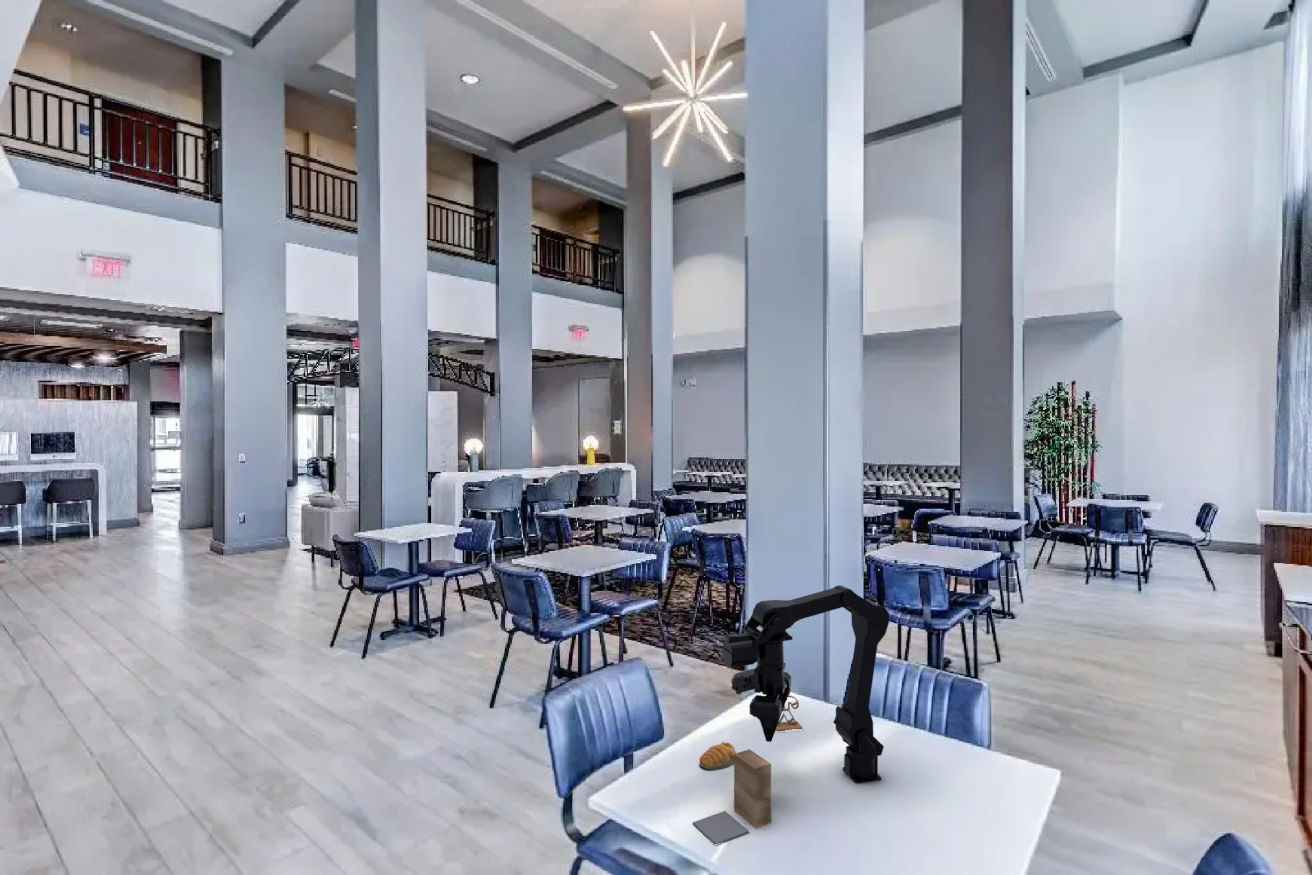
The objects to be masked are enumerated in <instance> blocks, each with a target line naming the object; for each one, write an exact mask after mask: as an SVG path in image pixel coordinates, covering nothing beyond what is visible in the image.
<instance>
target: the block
mask: <svg viewBox="0 0 1312 875" xmlns="http://www.w3.org/2000/svg"><path fill="white" fill-rule="evenodd" d="M733 793H734V794H733V796H734V797H733V798H734V799H733V806H734V807H733V811H734V813H736V814H737V815H738V816H739V817H740V818H742V819H743V820H744V821H745V822H747V823H748V824H749V825H750V826H752V827H753V828H754V829H756V830H757V829H758V828H761V827H764V826H766V825H768V824H771V823H772V763H771V762H769V761H768V760H766V759H765V758H764V757H763V756H760V755H759V754H757V753H756V752H754V751H753V750H751V749H750V748H749V749H746V750H743V751H742V750H741V751H739V752H736V753H735V754H734V764H733ZM763 825H764V826H763Z"/></svg>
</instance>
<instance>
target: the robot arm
mask: <svg viewBox="0 0 1312 875" xmlns="http://www.w3.org/2000/svg"><path fill="white" fill-rule="evenodd" d="M842 608H843V609H845V610H846V611H847V612H849V613H850V614H851V627H852V631H853V634H854V637H855V640H854V647H853V654H852V661H851V669H850V676H849V684H848V690H847V691H848V692H847V698H846V700H845V702H844V704H843V705H842V706H840V705H838V706H836V707H835V716H834V720H833V724H834V725H835V731H836V732H837V734H838V735H839V736H840V737H841V739H842V742H843V743H845V744H846V747H845V753H844V755H843V759H844V760H843V767H842V771H843V772H844V773H845V774H846V775H847V776H848V777H849V778H850V779H851V781H853V782H854V783H855V784H861V783H863V784H864V783H869V782H876V781H877V782H879V781H882V776H880V774H878V772H879V767H878V764H879V762H878V761H879V760H878V759H879V756H882V754H883V751H884V748H885V747H884V745H883V743H881V742H880V741H879V740H878V739H877V738H876V737H875V736H874V721H873V716H872V714H871V710H870V702H871V694H872V688H873V681H874V674H875V666H876V658H877V651H878V645H879V643H880V642H881V641H882V639H883V638H884V637H885V635H886V633H887V631H888V626H889V624H890V617H891V616H890V612H889V611H888V610H887V609H886V608H885V607H884V605H883V606H882V605H880V604H878V603H875V602H873V601H870V600H868V599H865V598H863V597H862V596H860V595H858V594H857V593H855V591H854V590H852V589H851V588H848V587H847V586H843V585H841V584H840V585H835V586H834V587H832V588H828V589H825V590H822V591H817V592H814V593H811V594H810V593H809V594H807V595H803V596H800V597H797V598H793V599H785V600H784V599H770V600H769V599H768V600H762V601H759V602H757V603H756V604H755V606H754V608H753V610H752V614H751V616H750V618H749V619H748V621H746V622H747V623H746V624H745V626H744V627H743V629H742V631H743V632H741V633H734V634H733V633H729V634H728V633H727V634H725V636H724V637H725V639H724V641H723V643H722V647H721V655H722V660H723V663H724V665H725V667H726V668H727V669H728V668H729V669H730V668H738V667H744V666H751V665H755V663H757V664H756V667H754V668H750V669H747V670H746V669H745V670H743V671H739V672H737V673H735V674H734V675H733V677H732V678H731V689H732V690H733V691H735V693H736V695H741V694H743V693H744V692H749V691H752V690H754V693H756V695H755V696H754V697H753V698H752V699H751V702H750V704H749V706H748V707H749V714H750V715H751V716H752V717H754V718H757V720H759V722H760V726H761V728H762V731H763V735H764V738H765V741H766V742H767V743H768V742H769V743H772V741H773V738H774V735H775V734H776V733H775V730H776V727H777V725H778V722H779V721H780V719H781V717H782V715H783V714H782V713H783V712H784V711H783V708H784V705H786V702H787V701H788V698H789V697H788V694H789V691H790V689H791V687H792V676H791V675H790V674H789V673H788V671H787V672H786V671H785V669H786V662H785V660H784V657H785V654H784V642H787V641H792V640H793V639H794V638H793V636H791V635H790V633H788V632H787V630H788V629H790V628H792V627H793V626H794V624H795V623H796V622H798V621H801V620H804V619H808V618H811V617H814V616H817V615H820V614H824V613H827V612H830V611H831V612H832V611H834V610H839V609H842ZM758 627H760V628H761V630H760V629H758ZM786 684H787V685H786ZM760 693H761V694H762V695H759V694H760ZM789 695H790V694H789ZM786 700H787V701H786Z"/></svg>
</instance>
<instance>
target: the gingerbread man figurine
mask: <svg viewBox="0 0 1312 875" xmlns="http://www.w3.org/2000/svg"><path fill="white" fill-rule="evenodd" d="M786 686H787V684H786ZM791 692H792V689H791V688H790V691H789V694H788V697H787V698H792V699H794V700H795V702H791V701H788V699H787V700H786V702H787V708H786V706H785V705H786V704H785V705H784V708H783V711H782V713H783V712H788V713H789V714H790V716H791V718H790V719H789V720H788V718H787V717H786V715H785V713H783V714H781V716H780V719H779V722H778V725H777V727H776V730H775V731H785V730H790V729H791V730H792V729H802V730H803V726H802V725H801V724H800V722H798V720H795V718H794V716H793V714H792V712H791V710H790V709H791V708H792V709H793V710H797V709H799V706H800V705H799V704H800V703H799V701H798V699H797V697H795V696H793V695H791ZM790 705H791V706H790ZM784 718H785V720H786V721H783V719H784ZM782 721H783V722H782Z"/></svg>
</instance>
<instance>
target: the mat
mask: <svg viewBox="0 0 1312 875" xmlns="http://www.w3.org/2000/svg"><path fill="white" fill-rule="evenodd" d="M692 826H694V827H695V828H696V830H698V831H699V832H700V833H701V834H702V835H703V836H704V837H706V838H707V840H709V841H710V842H711V843H712V842H713V843H714V844H718V843H721V842H724V843H727V842H730V841H732V840H735V839H737V838H739V837H742V836H745V835H747V834H749V833H750V830H749V829H748V828H746V827H745V826H744V825H742V823H740V822H739V821H738V820H737V819H735V818H734V817H733V816H732V815H731V814H730V813H728V812H727V811H726V810H723V811H721V812H717V813H715V814H712V815H710V816H707V817H704V818H701V819H697V820H695V821H692ZM726 841H727V842H726ZM713 843H712V844H713ZM714 844H713V845H714ZM721 844H722V843H721Z"/></svg>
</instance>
